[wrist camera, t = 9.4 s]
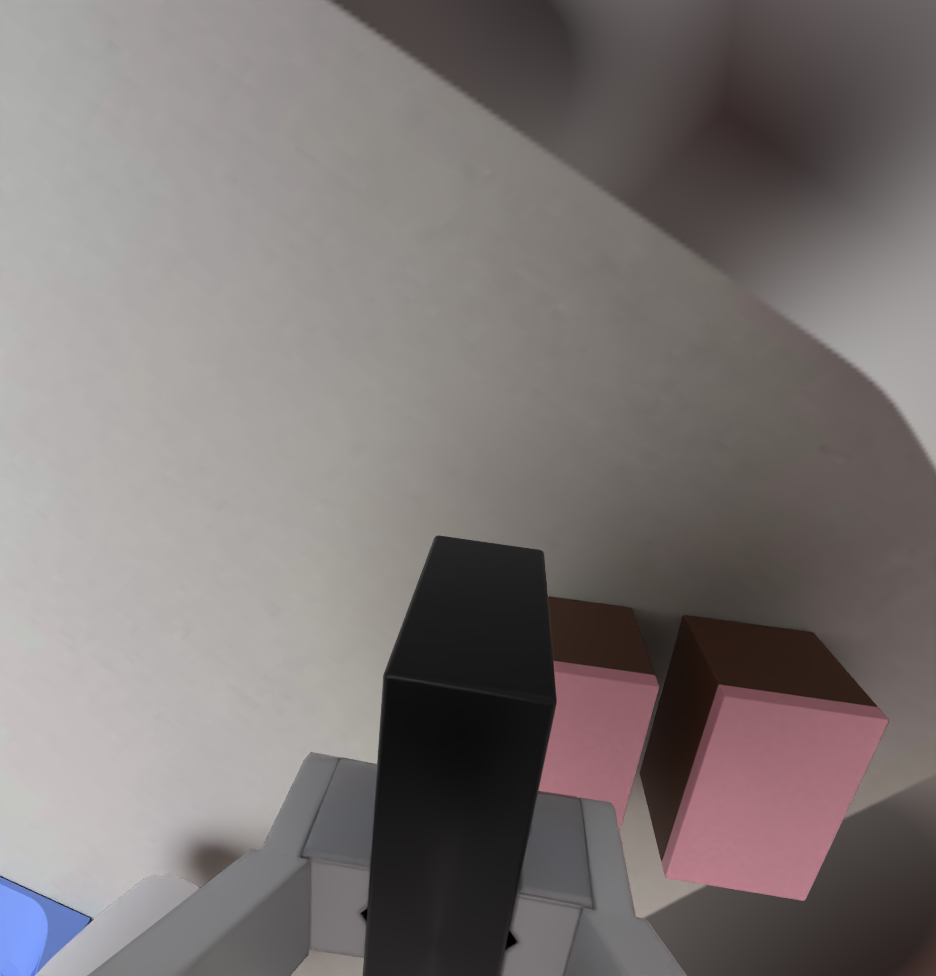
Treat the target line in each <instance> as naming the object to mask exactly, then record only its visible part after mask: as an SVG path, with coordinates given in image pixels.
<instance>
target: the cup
mask: <svg viewBox="0 0 936 976" xmlns="http://www.w3.org/2000/svg"><path fill="white" fill-rule="evenodd" d="M198 889H199V888H198V887H197V886H196V885H195V884H193V883H191V882H189V881H187V880H185V879H183V878H180V877H176V876H172V875H168V874H163V875H152V876H150V877H148V878H145V879H143V880H142V881H141V882H139V883H138V884H137V885H135V886H134V887H133V888H132V889H130V890H129V891H128V892H126V893H125V894H124V895H123V896H121V897H120V898H119V899H117V900H116V901H115V902H113V903H112V904H111V905H110V906H108V907H107V908H106V909H105V910H104V911H103V912H102V913H101V914H100V915H98V916H97V917H96V918H95V919H94V920H93V921H92V922H91V923H90V924H89V925H87V926H86V927H85V928H84V929H83V930H82V931H81V932H80V933H79V934H78V935H76V936H75V937H74V938H73V939H72V940H71V941H70V942H69V943H68V944H67V945H65V946H64V947H63V948H62V949H61V950H60V951H59V952H58V953H57V954H56V955H54V956H53V957H52V958H51V959H50V960H49V961H48V962H47V963H46V965H45V966H44V967H43V968H42V969H41V970H40V971H39V972H38V973H37V974H36V975H35V976H87V975H89V974H90V973H91V972H93V971H94V970H95V969H96V968H98V967H99V966H100V965H102V964H103V963H104V962H105V961H107V960H108V959H109V958H111V957H112V956H113V955H114V954H116V953H117V952H118V951H120V950H121V949H122V948H124V947H125V946H126V945H127V944H129V943H130V942H131V941H133V940H134V939H135V938H136V937H138V936H139V935H140V934H142V933H143V932H144V931H145V930H147V929H148V928H149V927H151V926H152V925H153V924H155V923H156V922H157V921H158V920H160V919H161V918H162V917H164V916H165V915H166V914H167V913H169V912H170V911H171V910H173V909H174V908H175V907H176V906H178V905H179V904H180V903H182V902H183V901H184V900H185V899H187V898H188V897H189V896H191V895H192V894H193V893H195V892H196V891H197V890H198Z"/></svg>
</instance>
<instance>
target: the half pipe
mask: <svg viewBox="0 0 936 976" xmlns="http://www.w3.org/2000/svg"><path fill="white" fill-rule="evenodd" d="M89 921H90V918H89V917H87V916H84V915H82V914H80V913H78V912H76V911H73V910H71V909H69V908H67V907H65V906H63V905H60V904H58V903H56V902H54V901H52V900H49V899H47V898H45V897H43V896H41V895H39V894H36V893H34V892H32V891H30V890H28V889H25V888H23V887H21V886H19V885H17V884H14V883H12V882H10V881H8V880H6V879H4V878H1V877H0V976H35V975H36V974H37V973H38V972H39V971H40V970H41V969H42V968H43V967H44V966H45V965H46V963H47V962H48V961H49V960H50V959H51V958H52V957H53V956H54V955H56V954H57V953H58V952H59V951H60V950H61V949H62V948H63V947H64V946H65V945H67V944H68V943H69V942H70V941H71V940H72V939H73V938H74V937H75V936H76V935H78V934H79V933H80V932H81V931H82V930H83V929H84V928H85V927H86V926H87V925H88V923H89Z"/></svg>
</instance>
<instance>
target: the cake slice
mask: <svg viewBox="0 0 936 976" xmlns="http://www.w3.org/2000/svg"><path fill="white" fill-rule="evenodd" d="M548 605H549V617H550V628H551V640H552V651H553V663H554V675H555V686H556V698H557V704H556V709H555V714H554V718H553V723H552V728H551V733H550V738H549V742H548V747H547V752H546V757H545V762H544V766H543V771H542V776H541V781H540V786H539V790H538V791H545V792H551V793H558V794H564V795H571V796H577V797H578V798H579V797H581V798H587V799H593V800H599V801H605V802H611V803H612V804H613V806H614V808H615V810H616V815H617V821H618V826H619V831H620V829H621V825H622V822H623V818H624V814H625V811H626V807H627V803H628V800H629V796H630V792H631V789H632V785H633V781H634V778H635V774H636V770H637V767H638V763H639V759H640V756H641V752H642V748H643V745H644V741H645V737H646V734H647V730H648V726H649V723H650V719H651V715H652V712H653V708H654V704H655V701H656V697H657V693H658V690H659V685H658V682H657V679H656V676H655V675H654V672H653V669H652V666H651V663H650V660H649V657H648V654H647V651H646V649H645V646H644V643H643V640H642V637H641V634H640V631H639V629H638V626H637V623H636V620H635V617H634V614H633V611H632V609H631V608H625V607H618V606H610V605H603V604H596V603H588V602H581V601H574V600H566V599H559V598H552V597H548Z"/></svg>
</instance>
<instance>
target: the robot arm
mask: <svg viewBox="0 0 936 976" xmlns="http://www.w3.org/2000/svg"><path fill="white" fill-rule="evenodd" d="M376 777H377V764H373V763H368V762H363V761H358V760H353V759H348V758H341V757H335V756H330V755H325V754H319V753H314V752H311V753H310V754H309V755H308V756H307V757H306V759H305V760H304V761H303V763H302V765H301V767H300V769H299V772H298V774H297V776H296V778H295V780H294V782H293V784H292V786H291V788H290V790H289V792H288V795H287V797H286V799H285V801H284V803H283V805H282V807H281V809H280V811H279V813H278V815H277V817H276V820H275V822H274V824H273V826H272V828H271V830H270V832H269V834H268V836H267V838H266V840H265V843H264V845H263V847H262V849H261V850H255V849H250V850H249V851H247V852H246V853H245V854H244V855H242V856H241V857H240V858H238V859H237V860H236V861H235V862H233V863H232V864H231V865H229V866H228V867H227V868H226V869H224V870H223V871H222V872H220V873H219V874H218V875H216V876H215V877H214V878H213V879H211V880H210V881H209V882H207V883H206V884H205V885H204V886H202V887H201V888H200V889H198V890H197V891H196V892H195V893H193V894H192V895H191V896H189V897H188V898H187V899H185V900H184V901H183V902H182V903H180V904H179V905H178V906H176V907H175V908H174V909H173V910H171V911H170V912H169V913H167V914H166V915H165V916H164V917H162V918H161V919H160V920H158V921H157V922H156V923H155V924H153V925H152V926H151V927H149V928H148V929H147V930H145V931H144V932H143V933H142V934H140V935H139V936H138V937H136V938H135V939H134V940H133V941H131V942H130V943H129V944H127V945H126V946H125V947H124V948H122V949H121V950H120V951H118V952H117V953H116V954H114V955H113V956H112V957H111V958H109V959H108V960H107V961H105V962H104V963H103V964H102V965H100V966H99V967H98V968H96V969H95V970H94V971H93V972H91V973H90V974H89V975H87V976H290V975H291V974H292V973H293V972H294V971H295V970H296V968H297V967H298V966H299V965H300V964H301V963H302V961H303V960H304V959H305V958H306V957H307V956H308V951H309V950H316V951H322V952H329V953H335V954H342V955H348V956H355V957H362V958H364V951H365V936H366V922H367V907H368V893H369V878H370V864H371V849H372V835H373V820H374V806H375V791H376ZM500 976H687V975H686V974H685V972H684V971H683V969H682V968H681V967H680V965H679V964H678V963H677V961H676V960H675V958H674V957H673V956H672V954H671V953H670V951H669V950H668V949H667V947H666V946H665V944H664V943H663V942H662V940H661V939H660V937H659V936H658V935H657V933H656V932H655V931H654V929H653V928H652V926H651V925H650V924H649V922H648V921H647V919H642V918H638V917H636V916H635V911H634V905H633V900H632V895H631V890H630V884H629V879H628V874H627V868H626V863H625V858H624V852H623V847H622V842H621V836H620V831H619V826H618V821H617V815H616V810H615V808H614V806H613V804H612V803H611V802H605V801H599V800H593V799H587V798H581V797H579V798H578V797H577V796H571V795H564V794H558V793H551V792H545V791H538V795H537V800H536V805H535V810H534V814H533V819H532V824H531V829H530V834H529V838H528V843H527V848H526V853H525V858H524V862H523V867H522V872H521V877H520V882H519V886H518V891H517V896H516V901H515V906H514V910H513V915H512V920H511V925H510V930H509V934H508V939H507V944H506V949H505V954H504V958H503V963H502V968H501V973H500Z"/></svg>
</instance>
